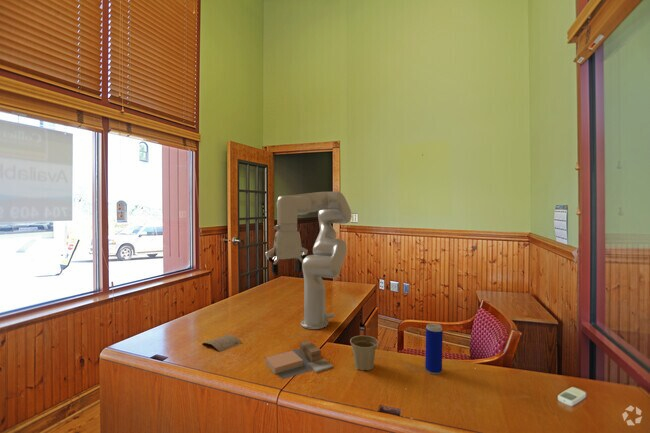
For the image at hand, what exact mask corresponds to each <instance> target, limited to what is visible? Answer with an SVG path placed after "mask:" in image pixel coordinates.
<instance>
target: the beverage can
mask: <svg viewBox="0 0 650 433" xmlns="http://www.w3.org/2000/svg"><path fill="white" fill-rule="evenodd" d="M443 331H444V330H443V326H442V325H441V324H439V323H436V322H435V323H434V322H431V323H427V324H426V327H425V362H424V367H425V370H426V371H427V372H428V373H430V374H432V375H439V374H441V373H442V371H443V336H444V335H443V334H444V332H443Z"/></svg>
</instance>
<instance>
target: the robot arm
mask: <svg viewBox="0 0 650 433" xmlns="http://www.w3.org/2000/svg"><path fill="white" fill-rule="evenodd" d="M276 211H277V216H276V218H277V223H276V225H273V230H276V232H275V234H274V240H273V247H272V248H271V249H269V250H267V251H266V252H265V253H264V255H265V257H266V259H267V260H268V261H269V262H270V263H271V273H272V274H273V275H274V276H278V274H279V267H278V266H279V265H278V264H277V263H278V262H279V261H280V260H290V259H291V260H292V259H296V261H295V271H296V272H298V273H302V276H303V283H304V284H303V285H304V287H303V298H304V299H303V319H302V320H301V321H300V326H301V327H303V328H304V329H307V330H319V329H324V327H325V328H326V327H328V326H329V321H328V319H333V318H335V313H334V312H331V313H329V312H326V284H325V281H324V279H323V278H326V279H335V278H337V277H338V276H339V275H340V272H341V270H342V267H343V264H344V261H345V258H346V255H347V249H348V248H347V244H346V241H345V240H343V239H341V238H337V231H336V230H335V228H334V227H333V226H332V224H343V225H344V224H345V225H346V224H348V223H350V221H351V219H352V210H351V207H350V206H349V204H348V201H347V199H346V196H344V193H342V192H341V191H317V192H307V193H299V194H290V195H280V196H278V198H277V201H276ZM315 212H317V218H318V224H319V233H318V235H317V238H316V239H315V242H314V244H313V247H312V254H309V255H308V251H309V250H308V249H307V248H305V247H303V246H302V240H301V234H300V231H298V216H299V215H300V216H301V215H308V214H309V213H315ZM272 254H273V255H272ZM271 255H272V256H273V257H272V256H271ZM327 325H328V326H327Z"/></svg>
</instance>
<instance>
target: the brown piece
mask: <svg viewBox="0 0 650 433" xmlns="http://www.w3.org/2000/svg"><path fill="white" fill-rule="evenodd" d="M299 348H300V354H301V355H303V356H304V357H305V358H306V359H307V360H308V361H309V362H310V363H308V366H310V367H311V368H312V369H313V370H312V371H314V372H315V373H319V372H322V371H325V370H329V369H333V367H334V365H333V364H331V363H330V362H329V361H328V360H326V359H325V358H322V350H321V349H320V348H319V347H318V346H316V345H315V344H314V343H313V342H312V341H310V340H304V341H300V342H299Z"/></svg>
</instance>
